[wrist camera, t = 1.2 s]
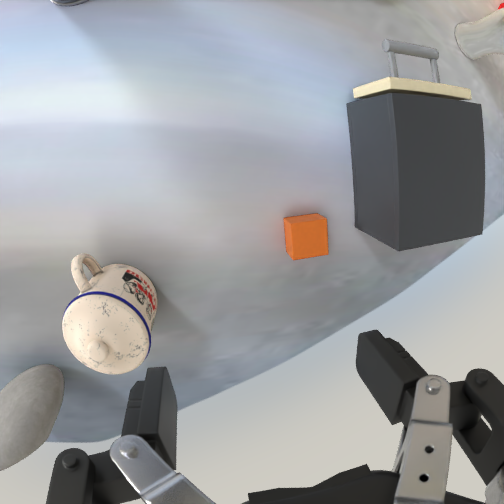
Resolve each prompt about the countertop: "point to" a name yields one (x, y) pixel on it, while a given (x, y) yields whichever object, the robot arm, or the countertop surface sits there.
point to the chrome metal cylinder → (482, 36)
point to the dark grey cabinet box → (417, 169)
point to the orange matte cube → (306, 236)
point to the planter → (29, 412)
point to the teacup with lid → (110, 316)
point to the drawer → (410, 85)
